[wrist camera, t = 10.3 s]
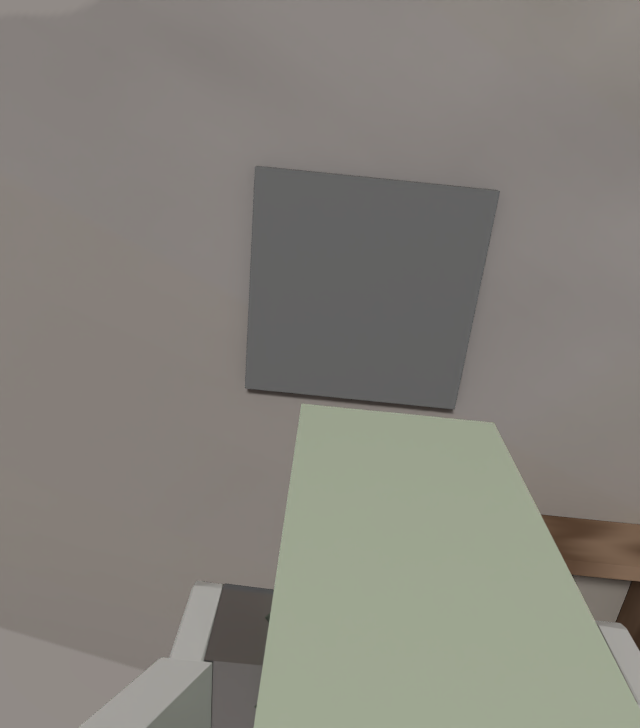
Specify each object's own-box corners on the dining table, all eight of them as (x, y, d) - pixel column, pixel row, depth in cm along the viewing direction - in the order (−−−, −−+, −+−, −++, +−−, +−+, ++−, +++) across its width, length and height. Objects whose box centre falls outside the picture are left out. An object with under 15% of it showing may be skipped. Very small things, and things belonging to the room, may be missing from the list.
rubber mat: (496, 190, 28) (499, 191, 28) (452, 404, 33) (454, 409, 32) (256, 165, 28) (254, 166, 28) (246, 383, 33) (244, 388, 32)
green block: (493, 422, 13) (749, 922, 5) (458, 572, 15) (601, 1127, 7) (301, 403, 13) (232, 872, 5) (288, 555, 15) (220, 1090, 7)
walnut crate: (670, 527, 36) (707, 574, 32) (597, 702, 42) (622, 758, 38) (416, 502, 36) (424, 545, 32) (382, 680, 42) (385, 734, 38)
